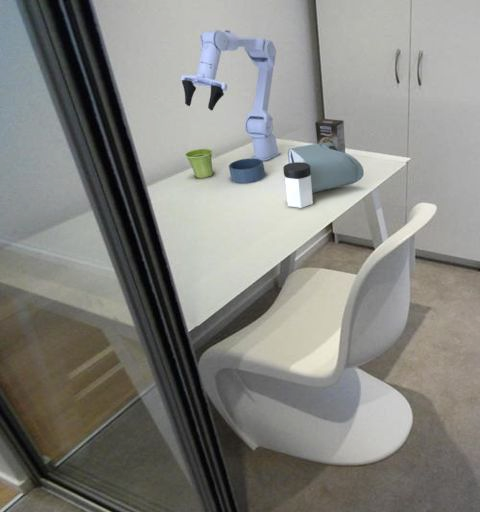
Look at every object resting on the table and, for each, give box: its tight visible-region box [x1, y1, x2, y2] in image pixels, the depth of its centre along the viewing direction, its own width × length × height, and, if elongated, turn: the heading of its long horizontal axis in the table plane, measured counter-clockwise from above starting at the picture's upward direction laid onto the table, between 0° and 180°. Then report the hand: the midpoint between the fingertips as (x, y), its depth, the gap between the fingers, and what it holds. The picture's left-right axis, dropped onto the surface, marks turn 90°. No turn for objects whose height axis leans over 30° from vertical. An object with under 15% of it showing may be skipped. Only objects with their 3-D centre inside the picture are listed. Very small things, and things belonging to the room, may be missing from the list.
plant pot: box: [184, 148, 214, 179], centre depth 160 cm, size 9×9×9 cm
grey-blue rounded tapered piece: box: [287, 142, 364, 194], centre depth 149 cm, size 22×19×13 cm
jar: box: [282, 162, 314, 209], centre depth 136 cm, size 9×8×12 cm
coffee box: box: [314, 118, 346, 153], centre depth 167 cm, size 9×6×16 cm
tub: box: [228, 157, 266, 184], centre depth 159 cm, size 12×12×5 cm
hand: (198, 107), depth 142 cm, fingers open, 7 cm apart
